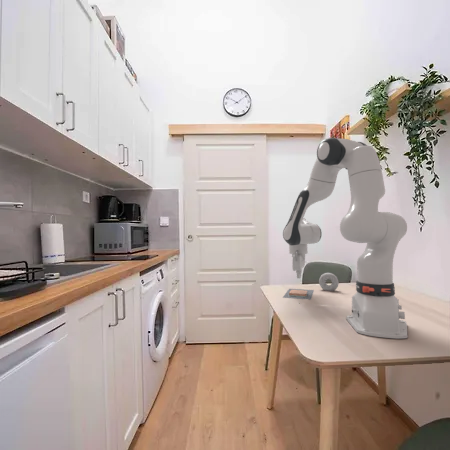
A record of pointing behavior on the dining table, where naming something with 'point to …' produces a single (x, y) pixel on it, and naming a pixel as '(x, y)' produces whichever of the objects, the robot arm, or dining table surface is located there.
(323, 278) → the donut
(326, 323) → the dining table surface
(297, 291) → the tile
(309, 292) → the mat
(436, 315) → the dining table surface
